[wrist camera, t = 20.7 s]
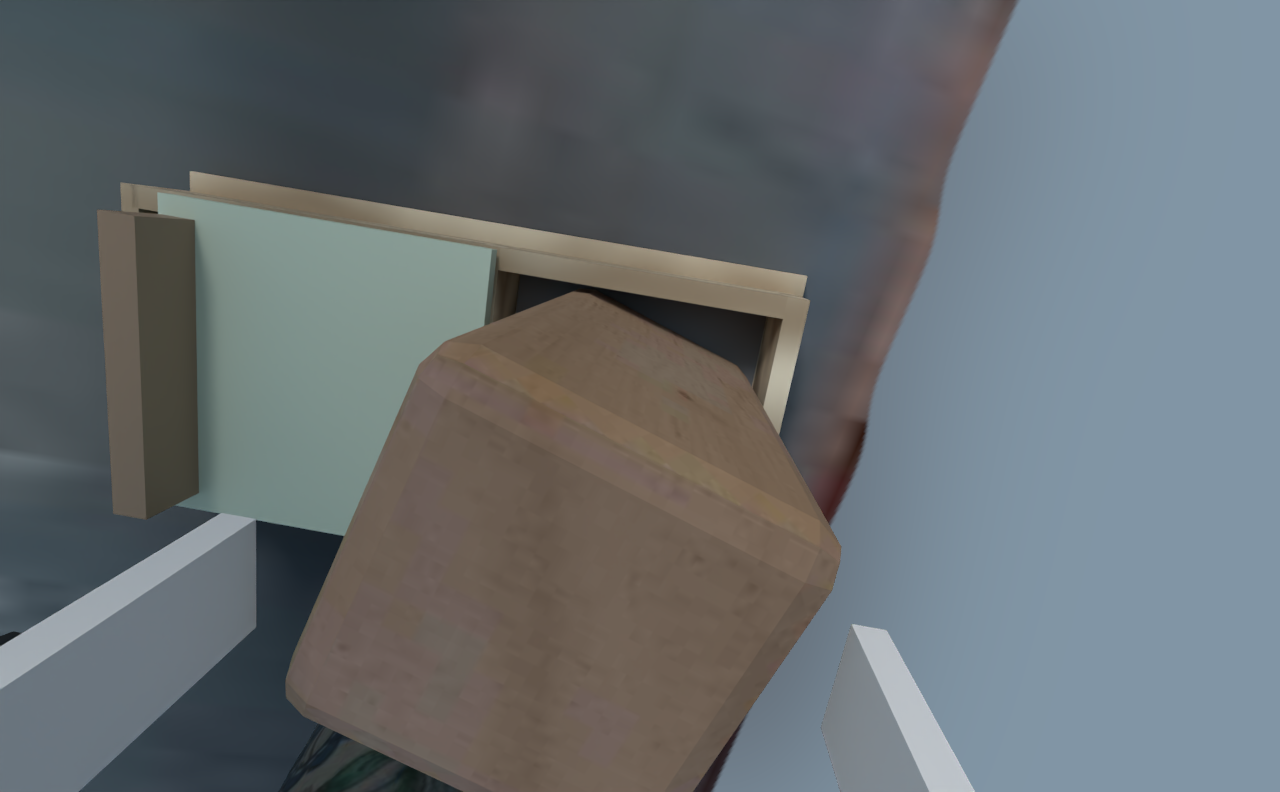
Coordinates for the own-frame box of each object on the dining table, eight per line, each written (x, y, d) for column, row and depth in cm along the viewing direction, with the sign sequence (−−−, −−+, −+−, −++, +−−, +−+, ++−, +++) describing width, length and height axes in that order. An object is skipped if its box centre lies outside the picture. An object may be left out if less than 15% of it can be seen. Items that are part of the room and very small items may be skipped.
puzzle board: (204, 173, 32) (119, 159, 27) (803, 275, 31) (826, 279, 26) (208, 471, 36) (134, 505, 31) (737, 566, 35) (746, 616, 30)
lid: (172, 193, 27) (91, 184, 23) (497, 249, 26) (468, 249, 23) (179, 497, 30) (111, 531, 27) (466, 549, 30) (436, 590, 26)
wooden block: (751, 370, 31) (875, 566, 12) (661, 524, 34) (640, 898, 14) (580, 279, 31) (416, 328, 11) (500, 442, 33) (251, 716, 14)
